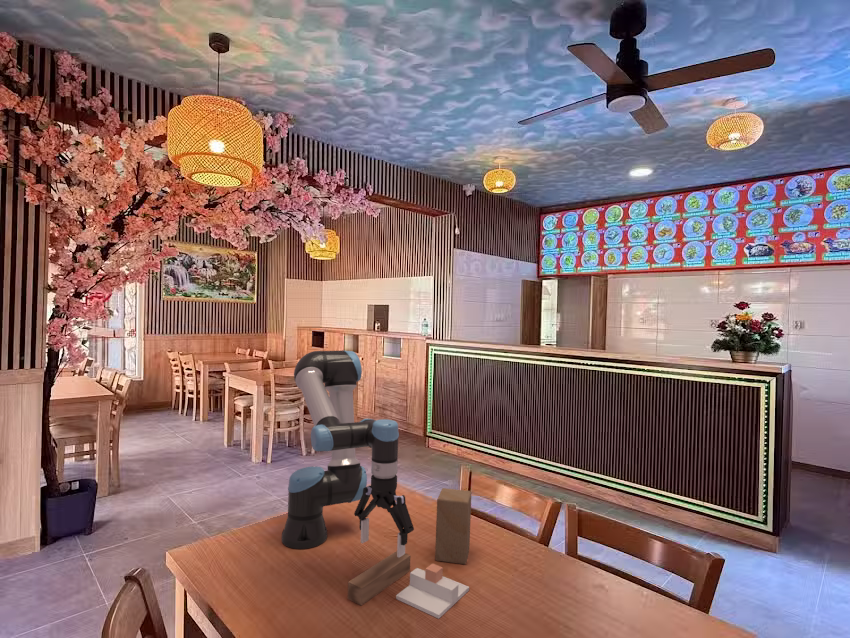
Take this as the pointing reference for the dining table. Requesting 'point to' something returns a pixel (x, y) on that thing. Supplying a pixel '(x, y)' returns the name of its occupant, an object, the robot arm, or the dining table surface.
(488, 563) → the dining table surface
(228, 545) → the dining table surface
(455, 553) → the wooden block
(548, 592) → the dining table surface
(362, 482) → the robot arm
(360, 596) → the beam
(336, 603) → the dining table surface
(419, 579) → the stand
